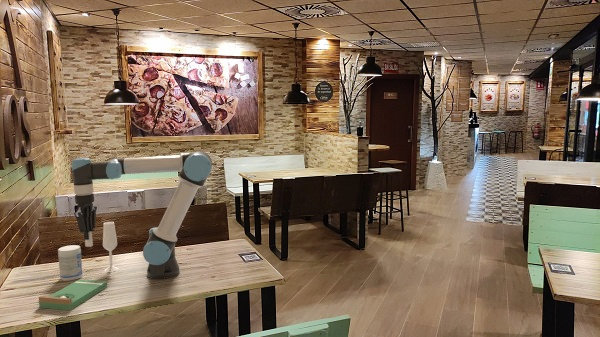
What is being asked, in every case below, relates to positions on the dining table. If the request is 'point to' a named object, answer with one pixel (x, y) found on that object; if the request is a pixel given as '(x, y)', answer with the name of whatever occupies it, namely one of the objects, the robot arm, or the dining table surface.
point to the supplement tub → (70, 262)
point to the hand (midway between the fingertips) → (89, 246)
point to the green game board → (72, 295)
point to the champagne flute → (109, 242)
